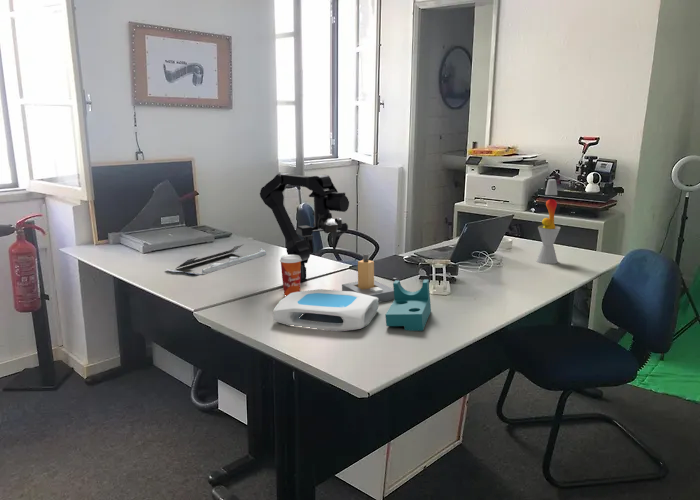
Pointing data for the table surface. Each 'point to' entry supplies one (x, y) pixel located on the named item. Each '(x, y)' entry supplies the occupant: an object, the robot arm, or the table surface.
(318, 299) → the document scanner
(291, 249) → the robot arm
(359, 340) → the table surface
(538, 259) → the lava lamp
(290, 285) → the paper cup
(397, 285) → the teal l-shaped bracket
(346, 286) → the socket plate
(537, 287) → the table surface
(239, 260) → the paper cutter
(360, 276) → the plug
